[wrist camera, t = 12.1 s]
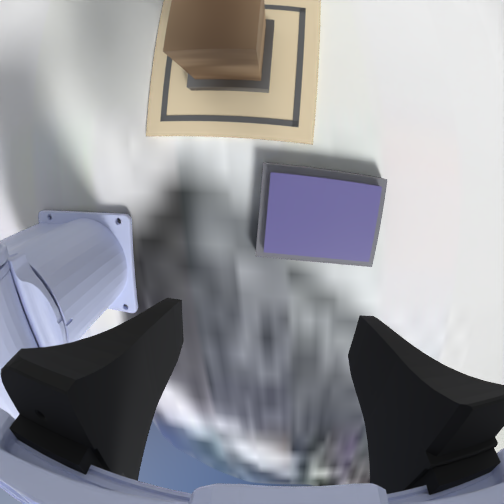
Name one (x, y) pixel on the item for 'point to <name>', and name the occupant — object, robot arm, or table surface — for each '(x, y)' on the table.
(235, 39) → the stamp
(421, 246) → the table surface
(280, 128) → the card
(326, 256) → the pad
